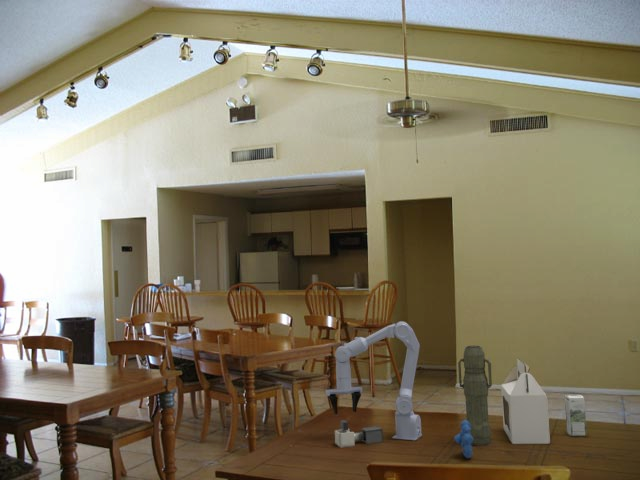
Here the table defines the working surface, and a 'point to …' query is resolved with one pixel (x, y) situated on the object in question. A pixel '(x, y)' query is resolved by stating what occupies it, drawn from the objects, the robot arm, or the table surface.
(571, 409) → the syrup box
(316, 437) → the table surface
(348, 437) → the ceramic socket
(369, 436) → the charcoal sleeve
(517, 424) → the gable box
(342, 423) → the silver cylinder with handle
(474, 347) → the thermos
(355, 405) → the robot arm
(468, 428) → the grapes
